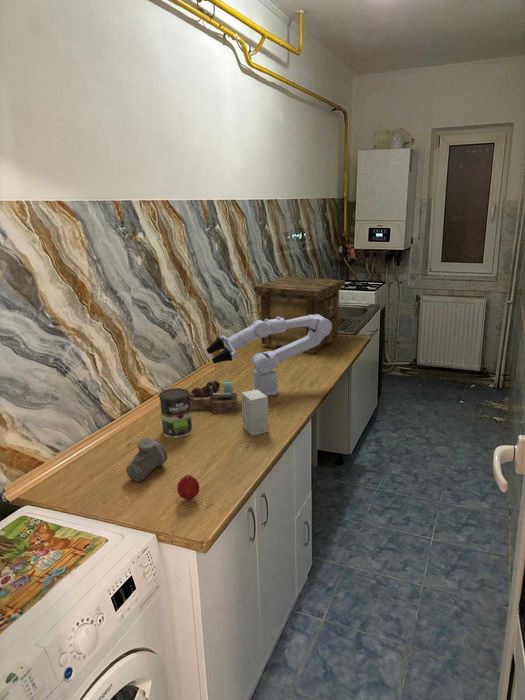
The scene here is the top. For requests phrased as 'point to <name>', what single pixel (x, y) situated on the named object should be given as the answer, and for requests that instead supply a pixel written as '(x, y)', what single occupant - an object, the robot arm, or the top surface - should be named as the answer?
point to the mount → (214, 403)
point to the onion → (188, 487)
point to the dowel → (228, 387)
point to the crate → (299, 306)
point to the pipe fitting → (146, 459)
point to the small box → (255, 412)
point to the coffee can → (175, 412)
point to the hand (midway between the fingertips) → (209, 356)
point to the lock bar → (218, 394)
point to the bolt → (205, 389)
